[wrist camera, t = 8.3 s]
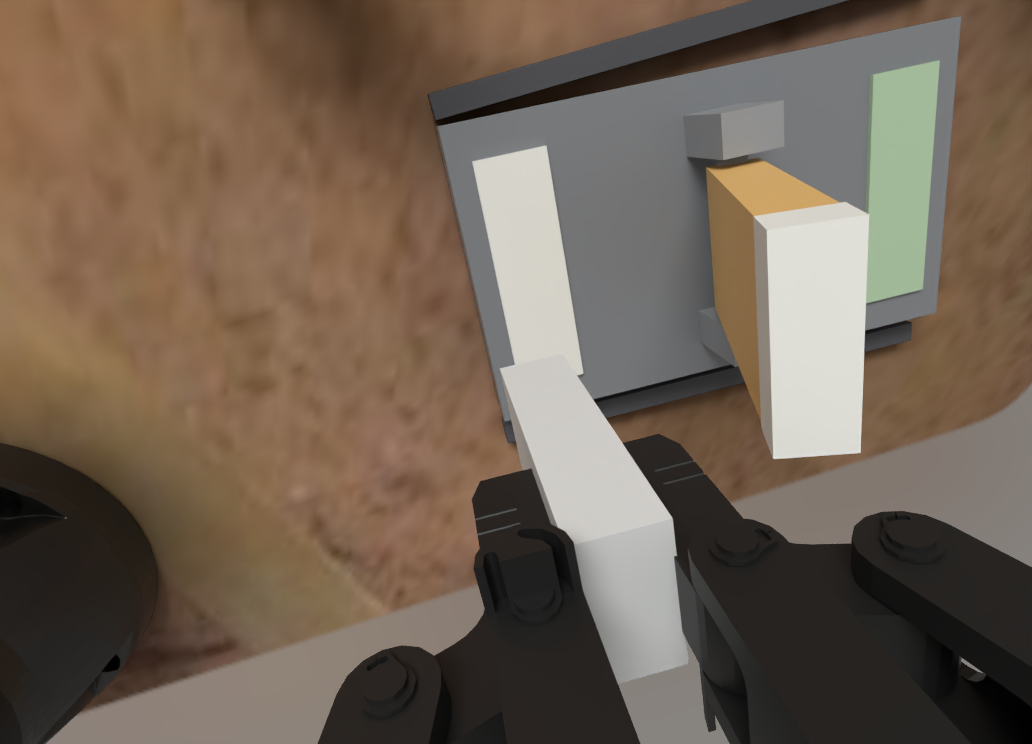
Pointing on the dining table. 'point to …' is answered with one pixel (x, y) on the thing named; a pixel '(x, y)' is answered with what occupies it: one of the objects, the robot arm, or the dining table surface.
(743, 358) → the breaker lever
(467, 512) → the dining table surface
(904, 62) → the panel
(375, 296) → the dining table surface
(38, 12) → the dining table surface
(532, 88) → the dark grey bar
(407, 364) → the dining table surface
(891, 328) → the dark grey edge strip
